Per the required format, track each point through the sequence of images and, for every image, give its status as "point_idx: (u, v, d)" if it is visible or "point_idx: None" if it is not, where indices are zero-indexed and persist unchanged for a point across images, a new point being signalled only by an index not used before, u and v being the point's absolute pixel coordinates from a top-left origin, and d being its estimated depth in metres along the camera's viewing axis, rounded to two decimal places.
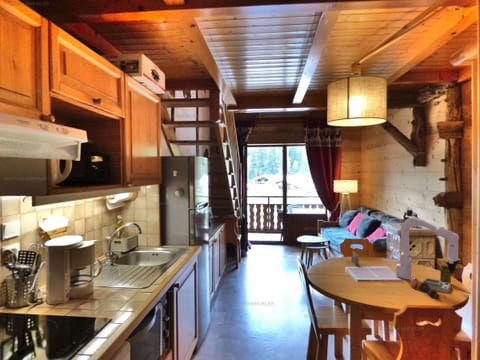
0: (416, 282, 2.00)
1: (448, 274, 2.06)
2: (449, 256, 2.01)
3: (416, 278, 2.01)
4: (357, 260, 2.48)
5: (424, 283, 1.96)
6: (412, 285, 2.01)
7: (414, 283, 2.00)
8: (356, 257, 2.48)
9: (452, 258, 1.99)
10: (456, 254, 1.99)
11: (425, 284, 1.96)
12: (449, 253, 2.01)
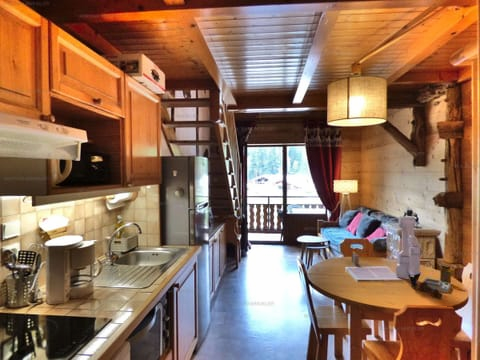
0: (416, 282, 2.00)
1: (448, 274, 2.06)
2: (411, 269, 2.01)
3: None
4: (357, 260, 2.49)
5: (424, 283, 1.96)
6: None
7: None
8: (356, 257, 2.49)
9: (414, 271, 1.99)
10: (417, 267, 1.99)
11: (425, 284, 1.96)
12: (411, 266, 2.01)
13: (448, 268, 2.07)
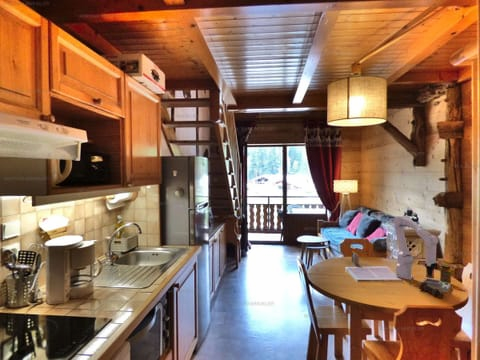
0: None
1: (448, 274, 2.06)
2: (427, 259, 2.01)
3: None
4: (357, 260, 2.49)
5: (424, 283, 1.96)
6: (428, 275, 2.00)
7: None
8: (356, 257, 2.49)
9: (430, 261, 1.99)
10: (434, 257, 1.99)
11: (425, 284, 1.96)
12: (427, 255, 2.00)
13: (448, 268, 2.07)
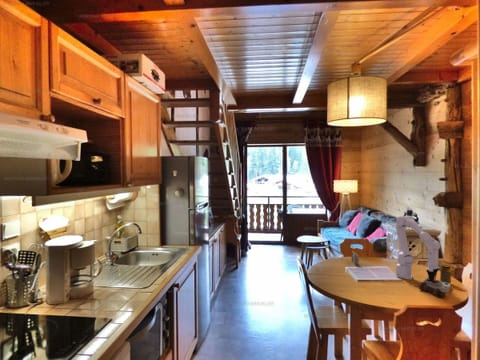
0: (434, 278, 2.00)
1: (448, 274, 2.06)
2: (429, 264, 2.01)
3: None
4: (357, 260, 2.49)
5: (424, 283, 1.96)
6: (430, 281, 2.01)
7: None
8: (356, 257, 2.49)
9: (432, 266, 1.99)
10: (436, 262, 1.99)
11: (424, 283, 1.96)
12: (429, 261, 2.01)
13: (448, 268, 2.07)
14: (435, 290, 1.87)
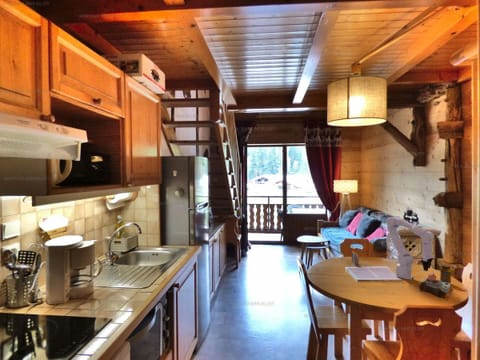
0: (434, 278, 2.00)
1: (448, 274, 2.06)
2: (423, 254, 2.06)
3: None
4: (357, 260, 2.49)
5: (423, 283, 1.96)
6: (430, 281, 2.01)
7: (433, 279, 2.00)
8: (356, 257, 2.49)
9: (426, 256, 2.05)
10: (430, 252, 2.04)
11: (424, 283, 1.97)
12: (424, 251, 2.06)
13: (448, 268, 2.07)
14: (436, 290, 1.88)
